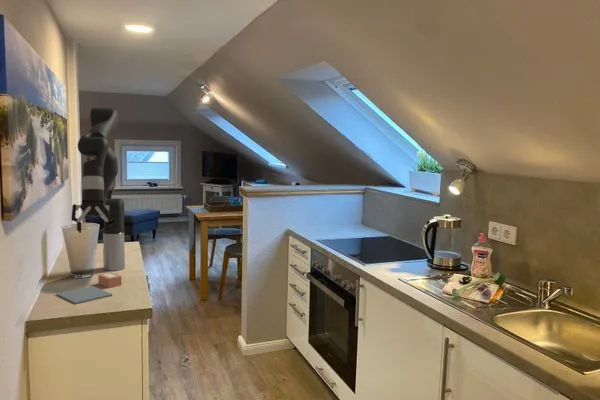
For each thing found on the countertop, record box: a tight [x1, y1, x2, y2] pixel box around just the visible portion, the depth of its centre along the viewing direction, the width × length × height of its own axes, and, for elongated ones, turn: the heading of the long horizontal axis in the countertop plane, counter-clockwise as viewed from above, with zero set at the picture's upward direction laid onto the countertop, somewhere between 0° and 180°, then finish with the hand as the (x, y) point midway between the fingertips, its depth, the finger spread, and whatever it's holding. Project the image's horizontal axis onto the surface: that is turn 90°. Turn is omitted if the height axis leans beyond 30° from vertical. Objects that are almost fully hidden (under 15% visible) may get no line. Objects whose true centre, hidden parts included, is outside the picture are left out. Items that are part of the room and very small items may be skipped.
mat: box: [55, 285, 113, 305], centre depth 180 cm, size 16×14×1 cm
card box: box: [97, 272, 122, 289], centre depth 195 cm, size 9×6×4 cm, turn 48°
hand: (92, 232), depth 174 cm, fingers open, 8 cm apart
